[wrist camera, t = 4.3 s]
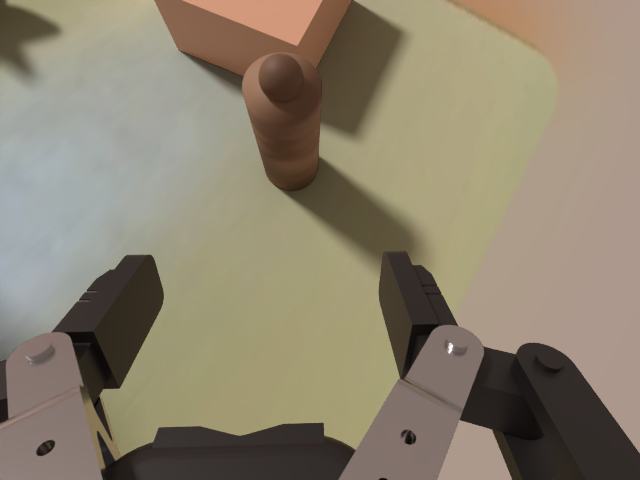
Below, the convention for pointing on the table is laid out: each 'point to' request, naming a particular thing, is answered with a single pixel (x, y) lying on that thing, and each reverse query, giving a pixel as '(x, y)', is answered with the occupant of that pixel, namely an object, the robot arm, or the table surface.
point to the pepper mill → (285, 117)
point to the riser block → (252, 28)
